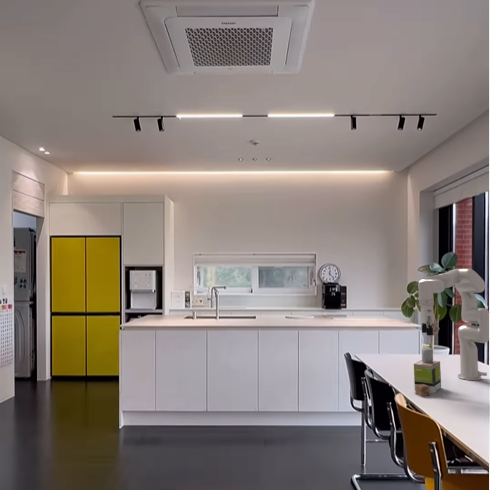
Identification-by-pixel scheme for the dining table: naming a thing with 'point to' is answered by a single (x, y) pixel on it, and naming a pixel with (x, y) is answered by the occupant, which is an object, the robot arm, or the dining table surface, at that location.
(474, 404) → the dining table surface
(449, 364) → the dining table surface
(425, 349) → the grey upright cylinder
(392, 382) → the dining table surface
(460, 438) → the dining table surface
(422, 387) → the walnut block
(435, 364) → the tea box
